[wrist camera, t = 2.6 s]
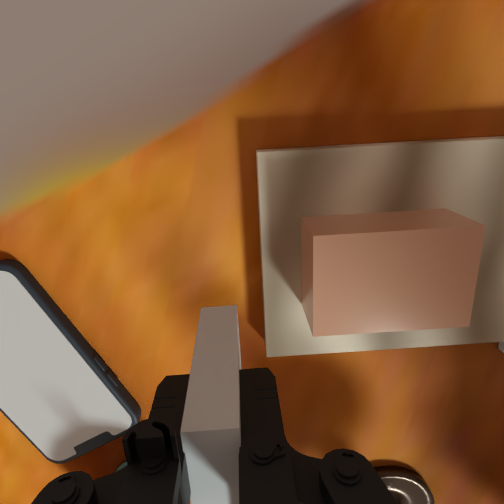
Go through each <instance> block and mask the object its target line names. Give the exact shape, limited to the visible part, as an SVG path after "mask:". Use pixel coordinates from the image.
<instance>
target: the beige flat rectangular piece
mask: <svg viewBox="0 0 504 504" xmlns="http://www.w3.org/2000/svg"><path fill="white" fill-rule="evenodd" d="M256 167H257V188H258V210H259V231H260V253H261V274H262V295H263V317H264V338H265V348H266V356H267V357H278V356H293V355H309V354H324V353H339V352H354V351H369V350H384V349H400V348H415V347H430V346H445V345H460V344H475V343H490V342H504V136H494V137H476V138H458V139H441V140H423V141H405V142H387V143H369V144H352V145H334V146H316V147H298V148H280V149H263V150H256ZM428 209H448V210H450V211H452V212H455V213H457V214H460V215H462V216H464V217H467V218H469V219H471V220H474V221H476V222H478V223H481V224H483V225H486V227H485V233H484V239H483V245H482V252H481V258H480V264H479V270H478V276H477V282H476V288H475V295H474V301H473V307H472V313H471V319H470V325H469V327H456V328H441V329H425V330H410V331H395V332H379V333H364V334H349V335H333V336H318V337H313V336H312V333H311V330H310V327H309V324H308V321H307V318H306V316H305V313H304V310H303V307H302V299H301V217H310V216H327V215H344V214H361V213H378V212H394V211H411V210H428Z"/></svg>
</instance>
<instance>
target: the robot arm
mask: <svg viewBox="0 0 504 504" xmlns="http://www.w3.org/2000/svg"><path fill="white" fill-rule="evenodd" d="M122 442H123V447H124V451H125V456H126V460H127V466H125V467H124V468H122V469H121V470H119V471H117V472H114V473H112V474H110V475H107V476H104V477H101V478H99V479H96V480H92V478H91V477H90V475H89V474H87V473H84V472H82V471H75V472H69V473H66V474H63V475H60V476H59V477H57V478H55V479H54V480H52V481H51V482H49V483H48V484H47V485H46V486H45V487H44V488H43V489H42V490H41V492H40V493H39V494H38V495H37V497H36V498H35V499H34V501H33V502H32V503H31V504H190V500H191V504H398V502H397V501H396V499H395V498H394V496H393V495H392V494H391V492H390V491H389V489H388V488H387V486H386V485H385V483H384V482H383V480H382V479H381V477H380V476H379V475H378V473H377V472H376V470H375V469H374V467H373V466H372V464H371V463H370V462H369V461H368V460H367V459H366V458H365V457H364V456H363V455H361V454H359V453H357V452H355V451H353V450H348V449H336V450H333V451H331V452H329V453H327V454H326V455H325V456H324V458H323V459H318V458H313V457H309V456H306V455H303V454H301V453H299V452H297V451H295V450H294V449H293V448H292V447H291V446H290V445H289V443H288V442H287V440H286V438H285V435H284V429H283V423H282V417H281V410H280V404H279V399H278V392H277V386H276V379H275V376H274V375H273V374H272V372H271V371H270V370H269V369H268V367H267V368H254V369H241V354H240V341H239V327H238V313H237V305H232V306H217V307H202V308H201V311H200V317H199V323H198V329H197V335H196V341H195V347H194V353H193V359H192V365H191V371H190V374H185V375H172V376H166V377H165V378H164V379H163V380H162V382H161V383H160V384H159V385H158V386H157V390H156V393H155V397H154V401H153V404H152V408H151V411H150V415H149V418H148V419H146V420H143V421H141V422H139V423H137V424H135V425H134V426H133V427H132V428H130V429H129V430H128V431H127V432H126V434H125V436H124V437H123V439H122Z"/></svg>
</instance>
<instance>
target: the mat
mask: <svg viewBox="0 0 504 504" xmlns="http://www.w3.org/2000/svg"><path fill="white" fill-rule="evenodd" d="M498 349H499V350H501V351H502V352H503V353H504V342H499V346H498Z"/></svg>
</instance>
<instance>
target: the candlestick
mask: <svg viewBox="0 0 504 504" xmlns="http://www.w3.org/2000/svg"><path fill="white" fill-rule="evenodd" d="M374 469H375V470H376V472H377V473H378V475H379V476H380V477H381V479H382V480H383V482H384V483H385V485H386V486H387V488H388V489H389V491H390V492H391V494H392V495H393V496H394V498H395V499H396V501H397V502H398V504H434V498H433V495H432V493H431V491H430V489H429V487H428V485H427V484H426V482H425V480H424V479H423V478H422V477H421V476H420V475H419V474H417V473H415V472H414V471H412V470H409V469H406V468H404V467H398V466H380V467H374Z"/></svg>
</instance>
